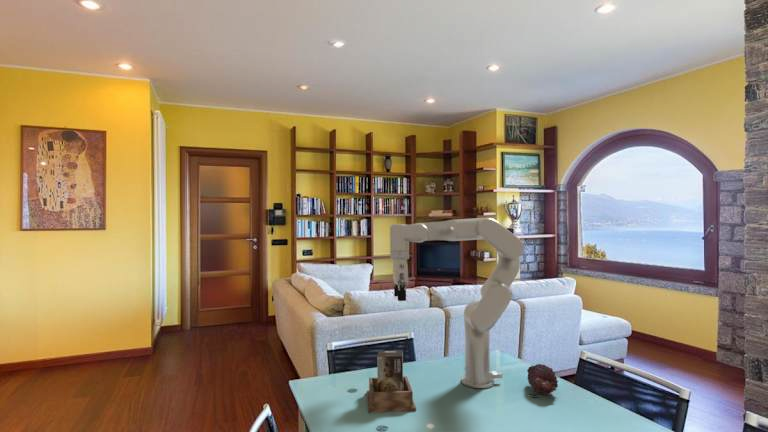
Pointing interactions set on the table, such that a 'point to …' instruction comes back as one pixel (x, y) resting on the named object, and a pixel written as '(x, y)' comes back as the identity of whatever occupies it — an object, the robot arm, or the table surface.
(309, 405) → the table surface
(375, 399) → the holder
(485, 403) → the table surface
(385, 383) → the coffee box
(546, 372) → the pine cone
